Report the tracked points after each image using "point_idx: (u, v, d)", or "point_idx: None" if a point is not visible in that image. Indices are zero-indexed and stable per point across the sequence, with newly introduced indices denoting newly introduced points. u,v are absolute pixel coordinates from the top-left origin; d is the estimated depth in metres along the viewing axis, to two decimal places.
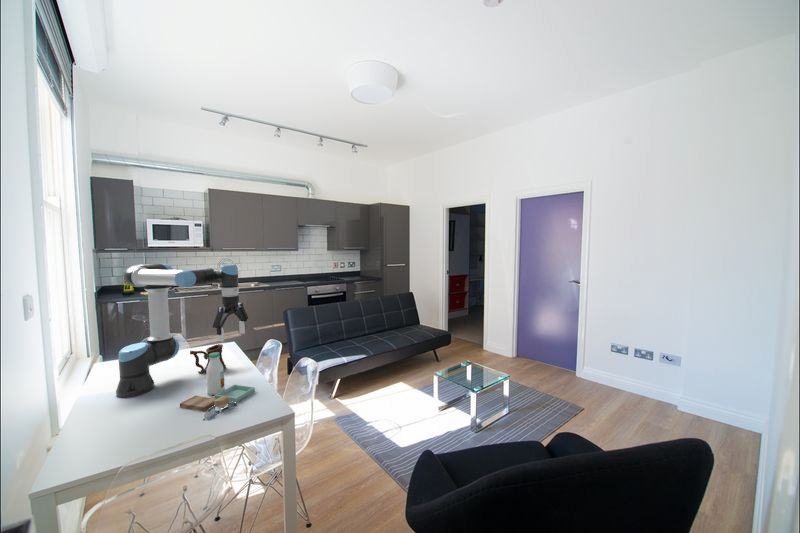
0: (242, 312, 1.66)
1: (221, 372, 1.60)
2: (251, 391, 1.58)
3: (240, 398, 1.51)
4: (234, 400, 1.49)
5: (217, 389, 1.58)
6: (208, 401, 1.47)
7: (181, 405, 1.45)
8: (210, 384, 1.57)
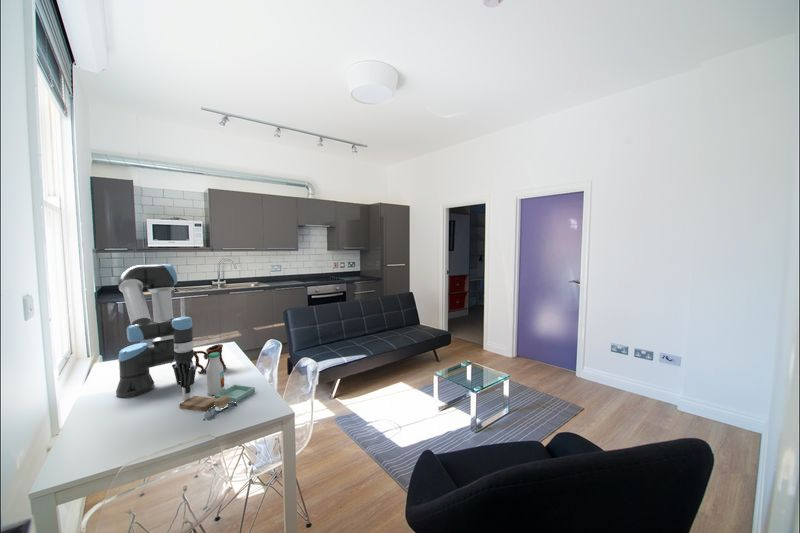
0: None
1: (221, 372, 1.60)
2: (251, 391, 1.58)
3: (240, 398, 1.51)
4: (234, 400, 1.49)
5: (217, 389, 1.58)
6: (209, 401, 1.47)
7: (181, 405, 1.45)
8: (210, 384, 1.57)
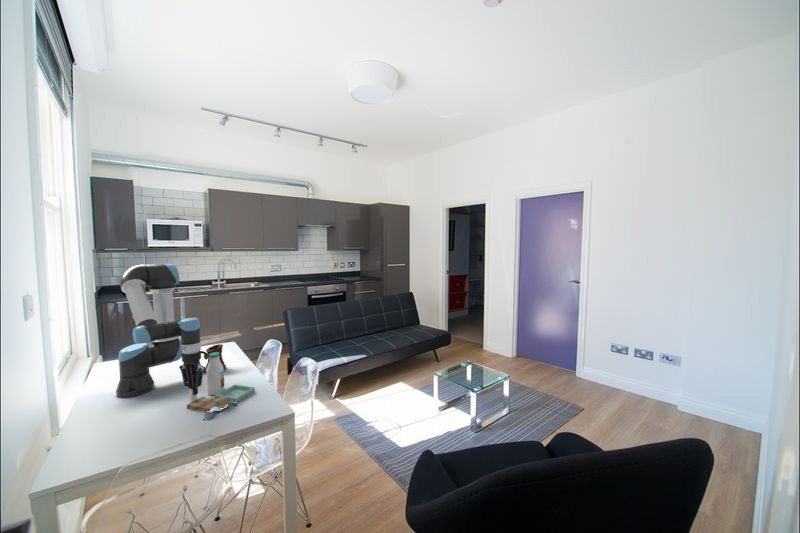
0: None
1: (221, 372, 1.60)
2: (251, 391, 1.58)
3: (240, 398, 1.51)
4: (234, 400, 1.49)
5: (217, 389, 1.58)
6: None
7: (188, 407, 1.44)
8: (210, 384, 1.57)
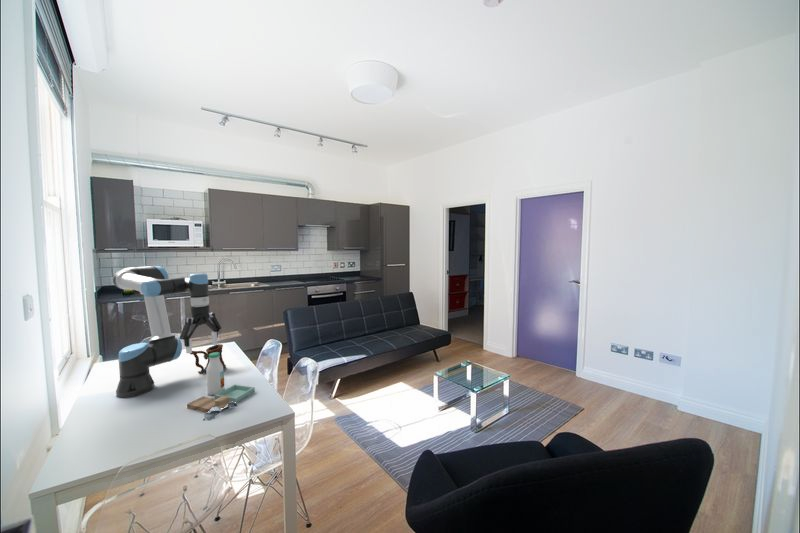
0: (214, 322, 1.60)
1: (221, 372, 1.60)
2: (251, 391, 1.58)
3: (240, 398, 1.51)
4: (234, 400, 1.49)
5: (217, 389, 1.58)
6: None
7: (188, 406, 1.44)
8: (210, 384, 1.57)
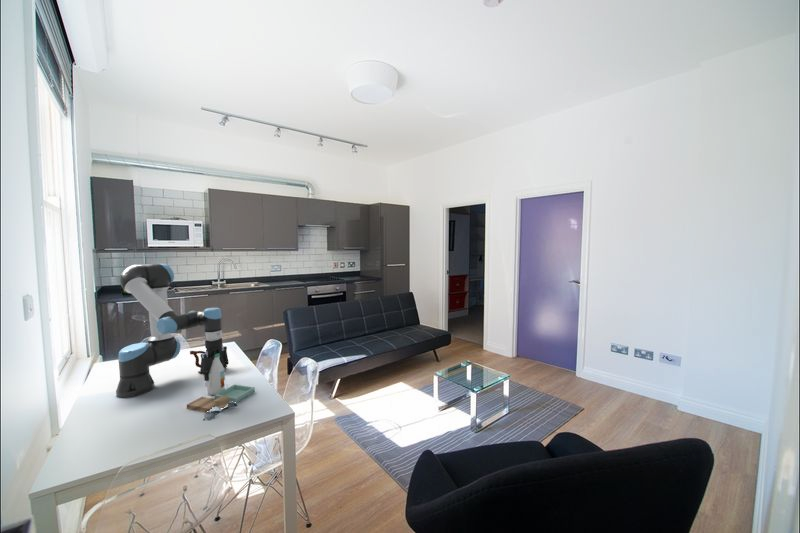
0: (224, 356, 1.65)
1: (221, 372, 1.60)
2: (251, 391, 1.58)
3: (240, 398, 1.51)
4: (234, 400, 1.49)
5: (217, 389, 1.58)
6: None
7: (188, 406, 1.44)
8: None
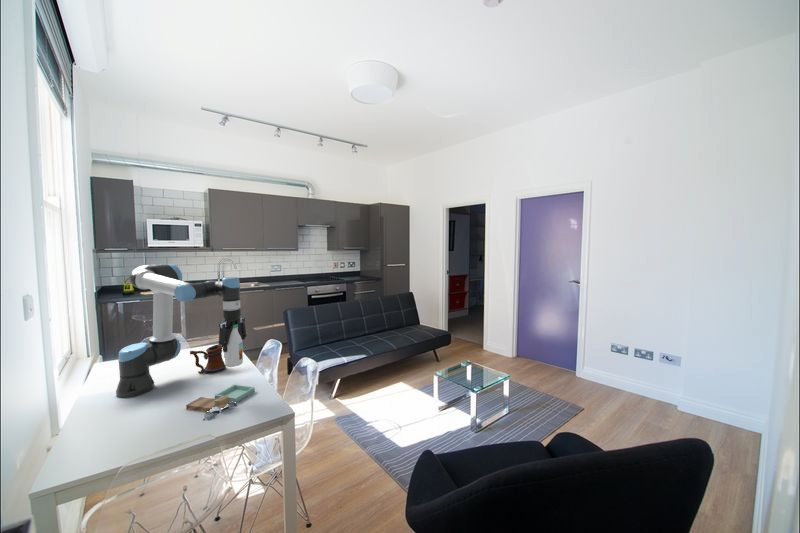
0: (242, 328, 1.60)
1: (240, 344, 1.54)
2: (251, 391, 1.58)
3: (240, 398, 1.51)
4: (234, 400, 1.49)
5: (236, 361, 1.52)
6: None
7: (188, 407, 1.43)
8: None
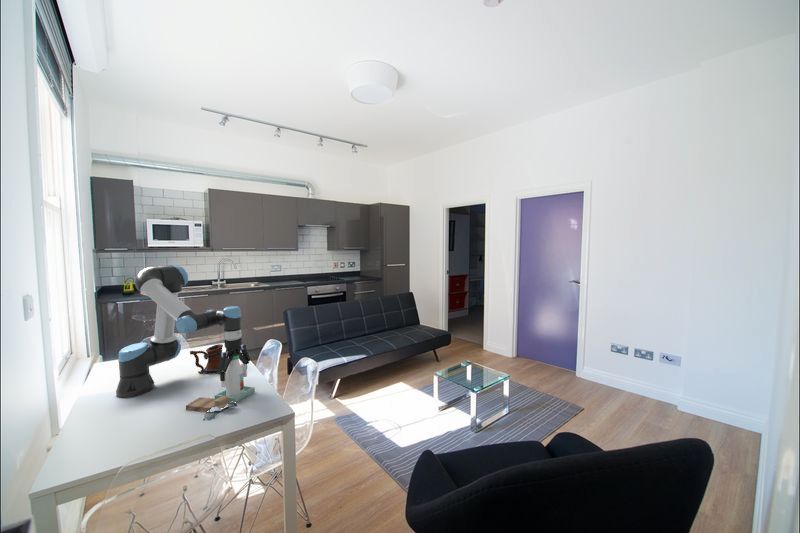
0: (244, 354, 1.62)
1: (241, 374, 1.55)
2: (251, 391, 1.58)
3: (240, 398, 1.51)
4: (234, 400, 1.49)
5: (237, 392, 1.53)
6: None
7: (187, 407, 1.43)
8: (229, 387, 1.52)
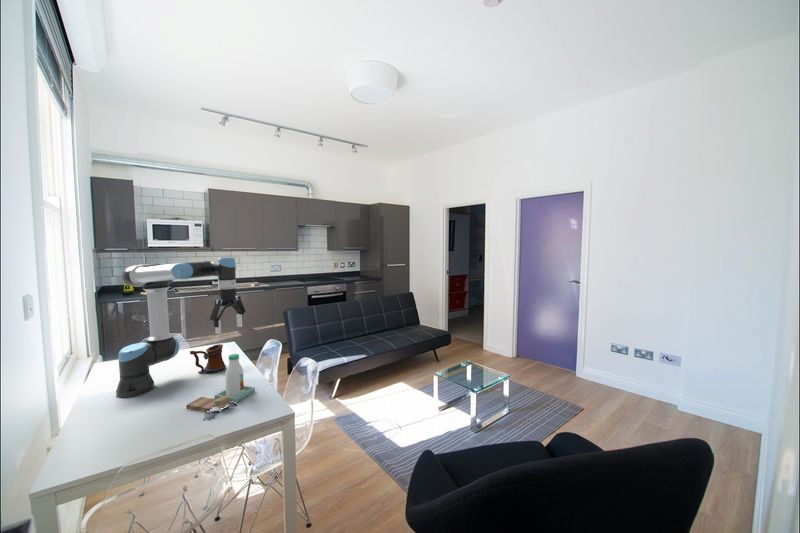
0: (239, 305, 1.66)
1: (241, 374, 1.55)
2: (251, 391, 1.58)
3: (240, 398, 1.51)
4: (234, 400, 1.49)
5: (237, 392, 1.53)
6: None
7: (188, 407, 1.44)
8: (229, 387, 1.52)
